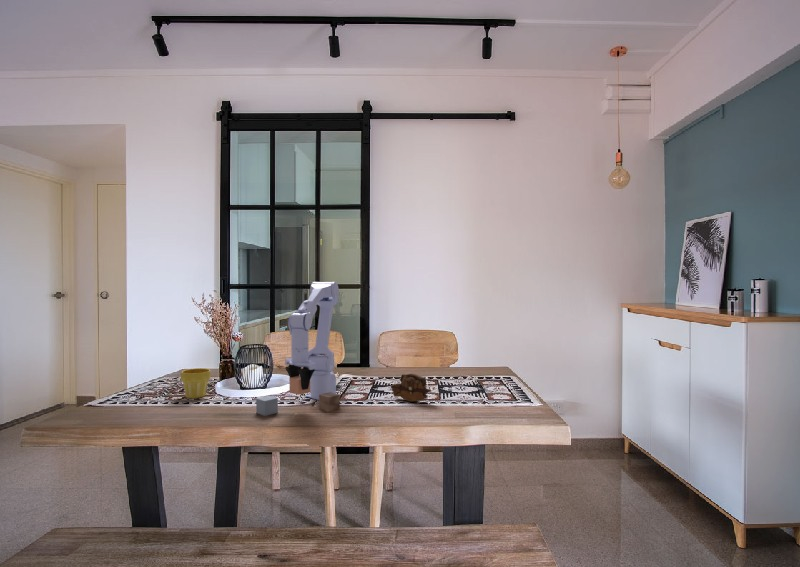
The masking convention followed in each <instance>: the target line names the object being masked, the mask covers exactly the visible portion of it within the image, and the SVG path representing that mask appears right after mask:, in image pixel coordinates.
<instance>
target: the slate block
mask: <svg viewBox="0 0 800 567" xmlns="http://www.w3.org/2000/svg"><path fill="white" fill-rule="evenodd" d="M255 400H256V401H255V402H256V406H255V407H256V409H255V410H256V411H255V412H256V414H258V415H261V416H264V417H266V416H270V415H271V416H272V415H273V414H277V413H279V411H278V410H279V405H278V404H279V401H278V400H279V397H275V396H272V395H267V396H266V395H265V396H262V397H256V399H255Z"/></svg>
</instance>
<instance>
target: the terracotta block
mask: <svg viewBox="0 0 800 567" xmlns="http://www.w3.org/2000/svg"><path fill="white" fill-rule="evenodd" d="M288 378H289V393H291V394H295V395H298V396H299V395H304V394H309V393H311V382H310V383H309V387H308V389H305V390H302V387H301V378H300V375H299V376H295V377H288Z"/></svg>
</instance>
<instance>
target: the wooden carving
mask: <svg viewBox="0 0 800 567" xmlns="http://www.w3.org/2000/svg"><path fill="white" fill-rule="evenodd" d="M399 380H400V382H398V383H394V384H392V385H390V388H391V391H392V394H393V395H392V396H393V397H400V398H401V399H403V400H405V401H407V402H420V401H423V400H425V399H428V398H429V397H428V395H427V393H431V392H432V390H431V388H427V386H426V385H427V379H426V377H423V376H421V375H419V374H417V373H407V374H405V373H403V374H401V376H400V379H399Z"/></svg>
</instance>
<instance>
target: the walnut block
mask: <svg viewBox="0 0 800 567" xmlns="http://www.w3.org/2000/svg"><path fill="white" fill-rule="evenodd" d="M340 400H341V394H339V393H337V392H336V393H332V392H328V393H324V394H320V395H319V400H318V408H319V410H321V411H325V412H327V413H329V412H332V411H336V410H339V409H341V405H340V404H341V401H340Z"/></svg>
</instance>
